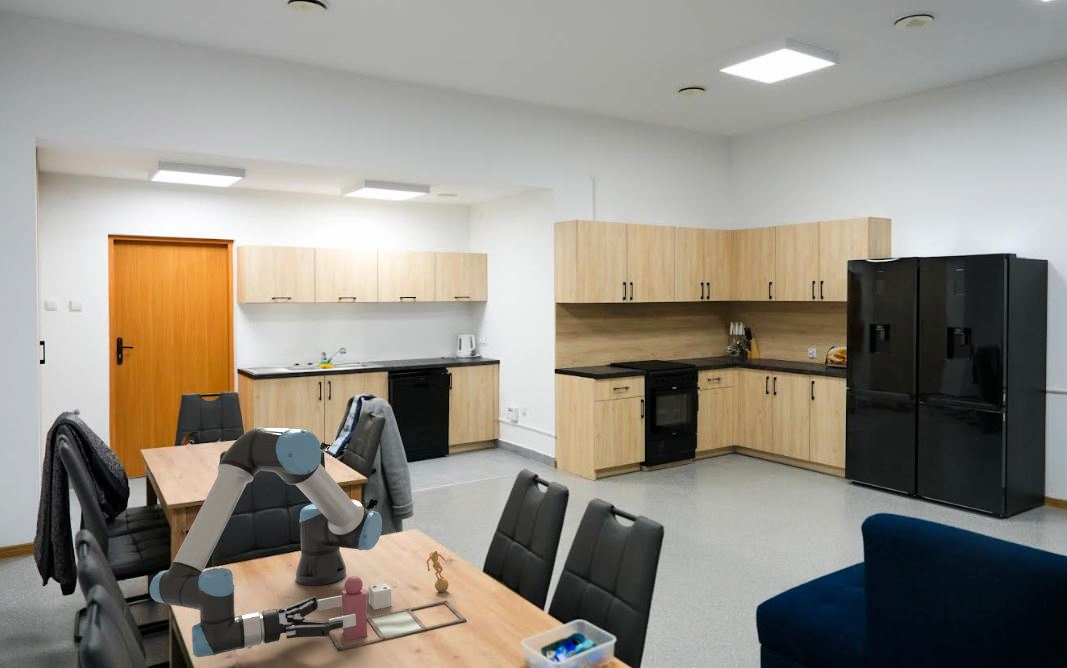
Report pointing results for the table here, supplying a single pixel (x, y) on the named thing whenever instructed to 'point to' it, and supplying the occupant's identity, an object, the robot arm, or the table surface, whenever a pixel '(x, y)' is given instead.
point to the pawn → (354, 607)
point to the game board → (399, 625)
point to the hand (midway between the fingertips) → (349, 609)
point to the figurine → (441, 583)
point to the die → (380, 596)
